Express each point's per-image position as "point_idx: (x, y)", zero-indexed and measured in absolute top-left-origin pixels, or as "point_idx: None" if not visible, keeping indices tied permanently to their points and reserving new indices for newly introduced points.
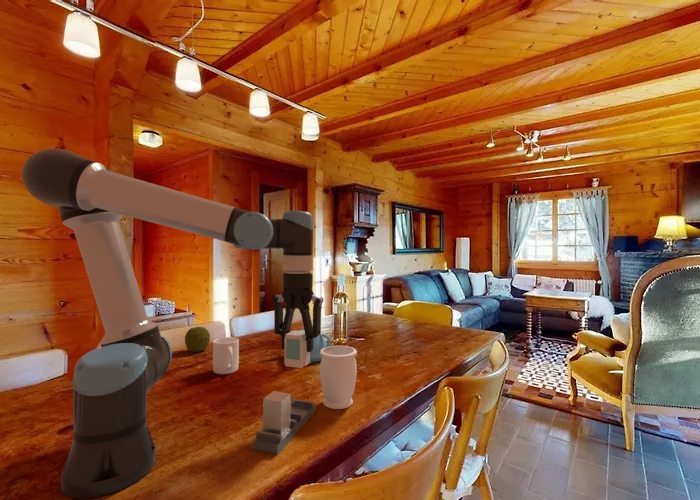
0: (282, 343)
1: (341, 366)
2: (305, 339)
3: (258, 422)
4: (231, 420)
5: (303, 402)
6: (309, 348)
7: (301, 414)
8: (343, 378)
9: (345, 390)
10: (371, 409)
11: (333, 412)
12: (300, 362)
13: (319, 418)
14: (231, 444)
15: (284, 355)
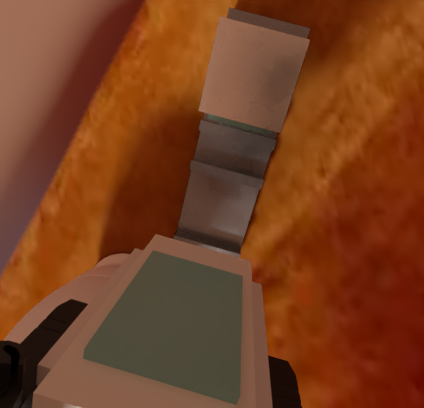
0: (292, 402)
1: (29, 328)
2: (20, 354)
3: (322, 179)
4: (407, 186)
5: (202, 242)
6: (62, 318)
7: (190, 165)
8: (52, 295)
9: (74, 279)
10: (42, 256)
11: (130, 239)
12: (152, 248)
13: (159, 208)
14: (375, 56)
15: (262, 314)
